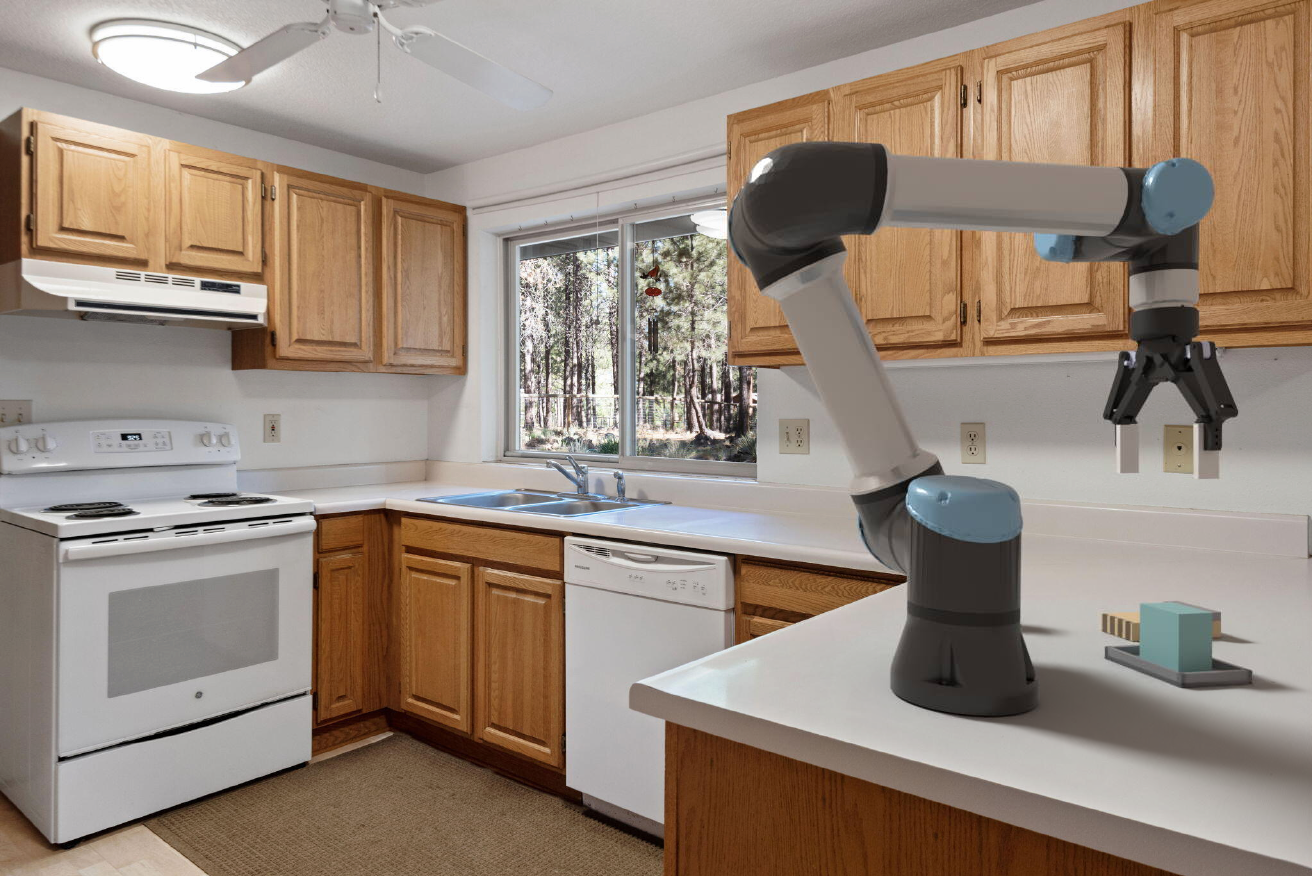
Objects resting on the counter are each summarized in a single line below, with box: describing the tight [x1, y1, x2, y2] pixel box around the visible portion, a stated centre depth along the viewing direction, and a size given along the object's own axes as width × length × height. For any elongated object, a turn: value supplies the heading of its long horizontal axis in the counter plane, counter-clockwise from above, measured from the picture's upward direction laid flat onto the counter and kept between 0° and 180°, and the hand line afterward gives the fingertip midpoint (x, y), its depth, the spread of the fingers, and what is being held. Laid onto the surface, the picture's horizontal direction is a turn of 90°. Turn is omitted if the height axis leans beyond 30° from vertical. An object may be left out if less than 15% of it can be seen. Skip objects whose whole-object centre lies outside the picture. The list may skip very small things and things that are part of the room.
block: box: [1139, 602, 1213, 673], centre depth 99 cm, size 4×6×7 cm
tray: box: [1104, 644, 1253, 689], centre depth 99 cm, size 9×12×2 cm
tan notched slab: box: [1100, 600, 1222, 642], centre depth 117 cm, size 14×8×4 cm, turn 100°
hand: (1164, 476), depth 105 cm, fingers open, 13 cm apart
